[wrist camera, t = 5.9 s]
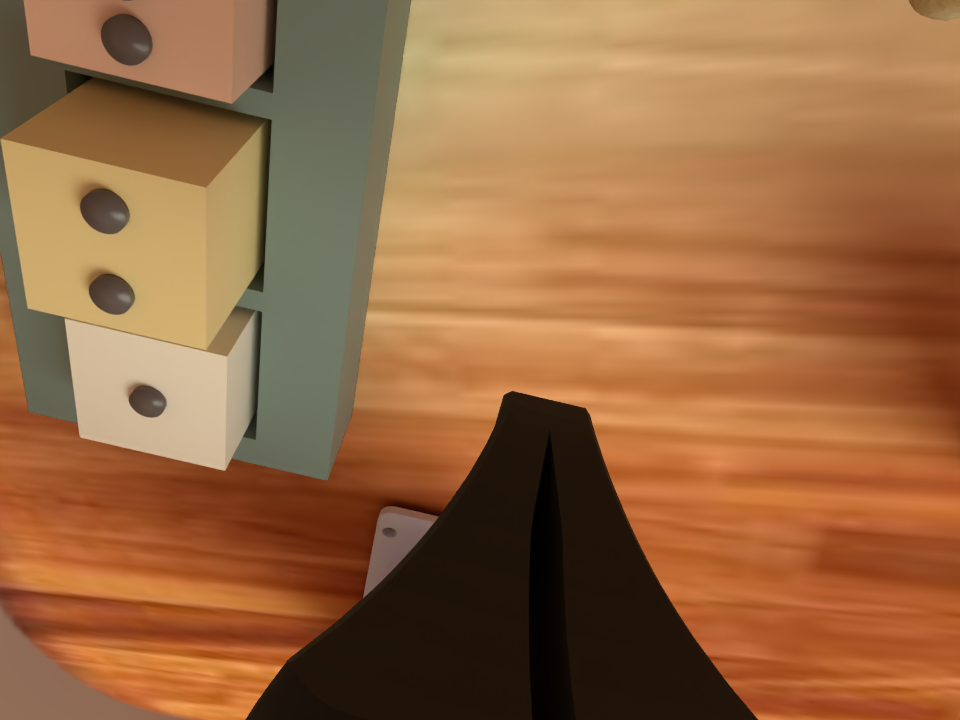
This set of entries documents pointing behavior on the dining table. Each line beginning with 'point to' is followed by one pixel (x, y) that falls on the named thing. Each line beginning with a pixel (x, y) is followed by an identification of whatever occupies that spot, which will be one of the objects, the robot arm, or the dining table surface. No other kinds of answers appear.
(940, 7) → the pastry
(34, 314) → the toy block sorting board
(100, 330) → the toy block
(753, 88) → the dining table surface
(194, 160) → the toy block
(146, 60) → the toy block
